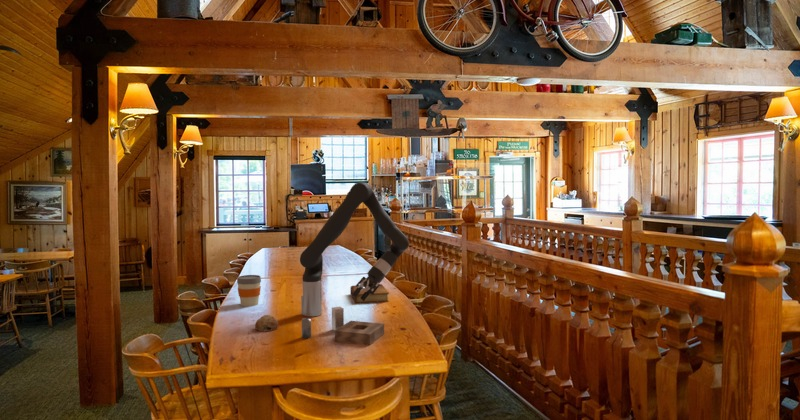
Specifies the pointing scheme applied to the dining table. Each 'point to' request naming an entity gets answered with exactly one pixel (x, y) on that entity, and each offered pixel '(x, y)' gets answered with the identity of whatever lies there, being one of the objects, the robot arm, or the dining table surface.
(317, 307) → the robot arm
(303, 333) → the round bit
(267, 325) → the bread roll
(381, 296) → the diary
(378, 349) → the dining table surface
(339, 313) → the square bit
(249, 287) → the reusable coffee cup
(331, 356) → the dining table surface
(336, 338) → the socket block
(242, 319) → the dining table surface
